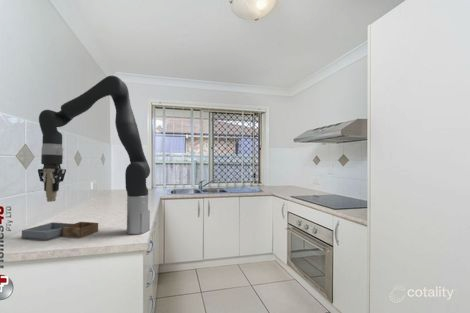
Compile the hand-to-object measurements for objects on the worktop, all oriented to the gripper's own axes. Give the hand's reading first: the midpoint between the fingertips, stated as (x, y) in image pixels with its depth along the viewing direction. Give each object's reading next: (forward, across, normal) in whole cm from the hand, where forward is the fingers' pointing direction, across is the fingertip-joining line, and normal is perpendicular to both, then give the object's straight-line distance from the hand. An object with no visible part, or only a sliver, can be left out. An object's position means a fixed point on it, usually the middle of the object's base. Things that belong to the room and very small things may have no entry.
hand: (51, 190), depth 99 cm
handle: (+5, 0, 0) cm, 5 cm away
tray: (+20, 0, 0) cm, 20 cm away
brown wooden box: (+20, +12, +4) cm, 24 cm away
